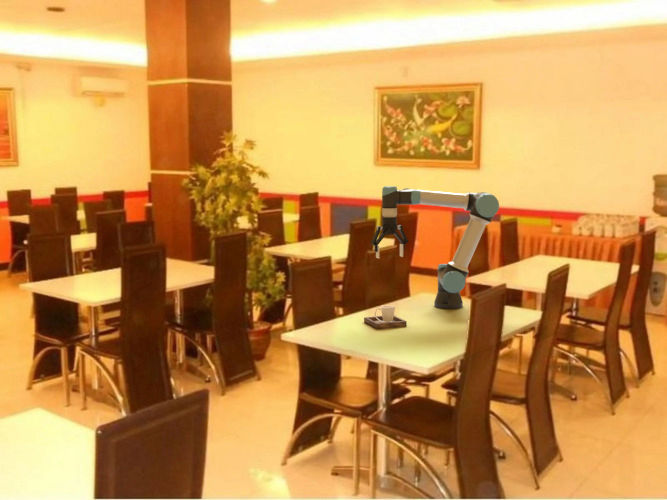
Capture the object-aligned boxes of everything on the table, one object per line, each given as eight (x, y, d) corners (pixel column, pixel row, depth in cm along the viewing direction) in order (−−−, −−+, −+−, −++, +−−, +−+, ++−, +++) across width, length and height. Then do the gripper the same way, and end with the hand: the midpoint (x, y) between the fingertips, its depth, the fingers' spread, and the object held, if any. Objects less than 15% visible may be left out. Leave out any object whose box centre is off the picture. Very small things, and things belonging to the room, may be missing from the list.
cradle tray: (392, 319, 353) (392, 314, 353) (406, 326, 339) (406, 321, 339) (364, 322, 348) (364, 317, 348) (377, 329, 334) (377, 324, 333)
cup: (393, 325, 338) (393, 308, 337) (373, 323, 341) (373, 307, 340) (396, 321, 345) (396, 305, 344) (376, 320, 348) (376, 304, 347)
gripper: (408, 214, 372) (407, 255, 375) (364, 216, 363) (364, 257, 366) (414, 215, 365) (414, 256, 368) (370, 218, 356) (370, 259, 359)
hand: (389, 257), depth 367 cm, fingers open, 13 cm apart
